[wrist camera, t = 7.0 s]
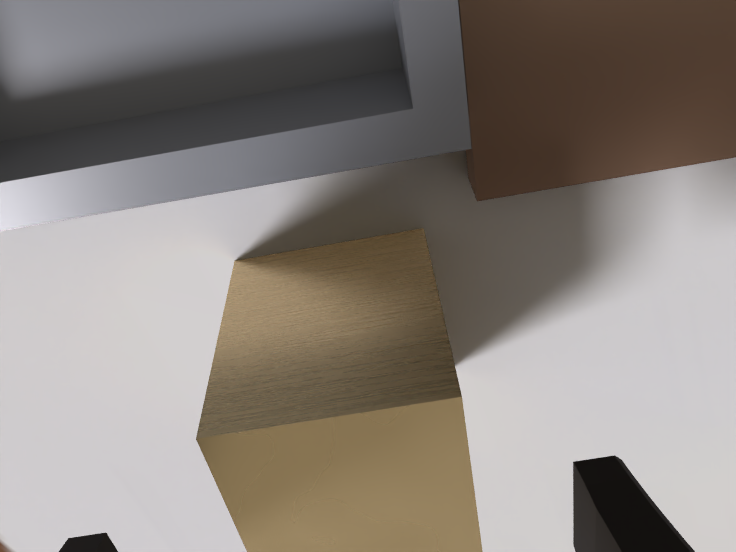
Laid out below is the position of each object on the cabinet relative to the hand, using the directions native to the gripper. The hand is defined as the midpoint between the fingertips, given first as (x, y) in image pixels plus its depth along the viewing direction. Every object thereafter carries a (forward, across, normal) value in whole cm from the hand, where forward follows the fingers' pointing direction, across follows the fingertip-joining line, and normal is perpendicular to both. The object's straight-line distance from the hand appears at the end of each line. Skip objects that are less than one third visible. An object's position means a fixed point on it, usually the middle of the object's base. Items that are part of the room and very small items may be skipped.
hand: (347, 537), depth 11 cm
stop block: (+6, 0, 0) cm, 6 cm away
